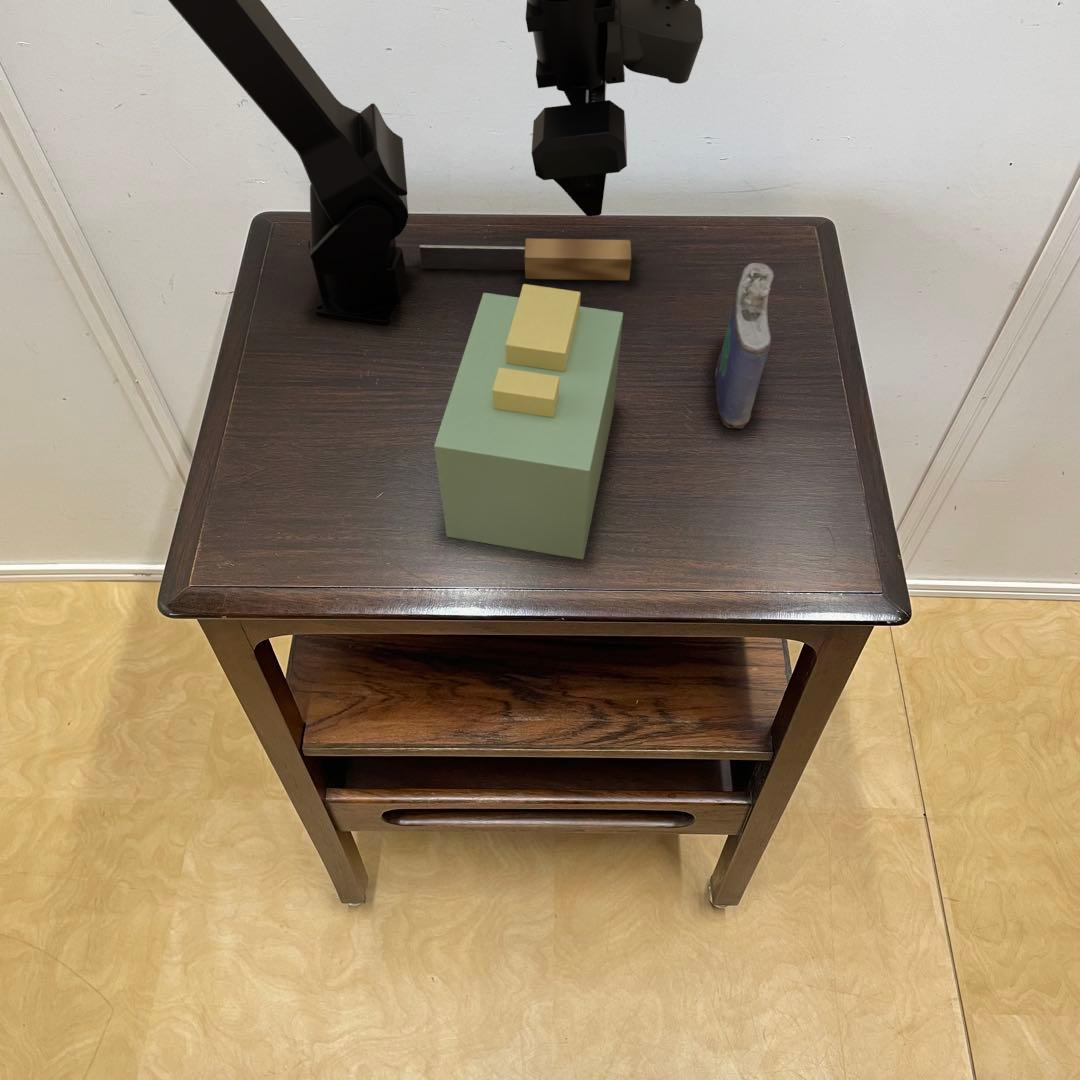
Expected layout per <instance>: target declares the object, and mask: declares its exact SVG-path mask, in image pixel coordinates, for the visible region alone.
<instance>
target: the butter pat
mask: <svg viewBox="0 0 1080 1080" xmlns="http://www.w3.org/2000/svg"><path fill="white" fill-rule="evenodd" d="M559 384H560V377H559V376H552V375H546V374H539V373H532V372H526V371H519V370H512V369H506V368H498V372H497V375H496V379H495V382H494V385H493V389H492V397H493V408H494V409H500V410H507V411H513V412H520V413H526V414H532V415H539V416H545V417H552V418H553V417H554V414H555V410H556V406H557V402H558V398H559Z"/></svg>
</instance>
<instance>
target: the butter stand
mask: <svg viewBox="0 0 1080 1080" xmlns="http://www.w3.org/2000/svg"><path fill="white" fill-rule="evenodd" d="M518 300H519V297H517V296H511V295H504V294H498V293H497V294H496V293H489V292H483V293H482V295H481V299H480V302H479V305H478V308H477V311H476V315H475V318H474V321H473V324H472V327H471V330H470V333H469V336H468V340H467V343H466V345H465V349H464V352H463V355H462V358H461V361H460V364H459V367H458V371H457V374H456V377H455V380H454V383H453V385H452V389H451V392H450V395H449V398H448V402H447V404H446V408H445V411H444V414H443V417H442V420H441V423H440V426H439V430H438V432H437V436H436V439H435V442H434V445H433V447H434V448H433V449H434V454H435V455H434V456H435V462H436V469H437V470H436V471H437V477H438V484H439V490H440V491H439V492H440V498H441V505H442V512H443V519H444V527H445V534H446V537H448V538H451V539H459V540H465V541H469V542H476V543H481V544H482V543H483V544H489V545H494V546H500V547H506V548H511V549H518V550H523V551H530V552H535V553H541V554H547V555H554V556H560V557H565V558H571V559H577V560H584V559H585V553H586V548H587V543H588V538H589V535H590V529H591V524H592V518H593V514H594V509H595V504H596V499H597V494H598V490H599V485H600V479H601V476H602V475H601V474H602V470H603V465H604V460H605V455H606V450H607V445H608V441H609V436H610V431H611V426H612V420H613V416H614V409H615V400H616V391H617V381H618V380H617V379H618V371H619V370H618V369H619V362H620V361H619V360H620V353H621V352H620V349H621V342H622V341H621V340H622V331H623V320H624V312H623V311H615V310H609V309H601V308H596V307H595V308H594V307H587V306H581V305H580V312H579V316H578V320H577V324H576V328H575V332H574V336H573V340H572V345H571V349H570V353H569V357H568V361H567V365H566V369H565V372H562V371H555V370H548V369H542V368H535V367H528V366H522V365H515V364H508V363H506V341H507V338H508V334H509V331H510V328H511V324H512V321H513V317H514V314H515V311H516V307H517V304H518ZM498 368H506V369H512V370H519V371H526V372H532V373H539V374H546V375H552V376H559V377H560V384H559V398H558V402H557V406H556V410H555V414H554V417H553V418H552V417H545V416H539V415H532V414H526V413H520V412H513V411H507V410H500V409H494V408H493V397H492V389H493V385H494V382H495V379H496V375H497V372H498Z"/></svg>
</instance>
